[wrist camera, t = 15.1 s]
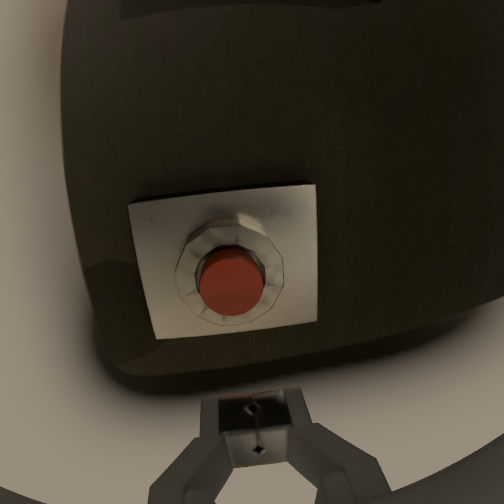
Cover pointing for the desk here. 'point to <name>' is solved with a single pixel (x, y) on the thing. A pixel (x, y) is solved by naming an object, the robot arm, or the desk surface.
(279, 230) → the switch block
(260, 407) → the robot arm
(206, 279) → the button
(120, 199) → the desk surface
